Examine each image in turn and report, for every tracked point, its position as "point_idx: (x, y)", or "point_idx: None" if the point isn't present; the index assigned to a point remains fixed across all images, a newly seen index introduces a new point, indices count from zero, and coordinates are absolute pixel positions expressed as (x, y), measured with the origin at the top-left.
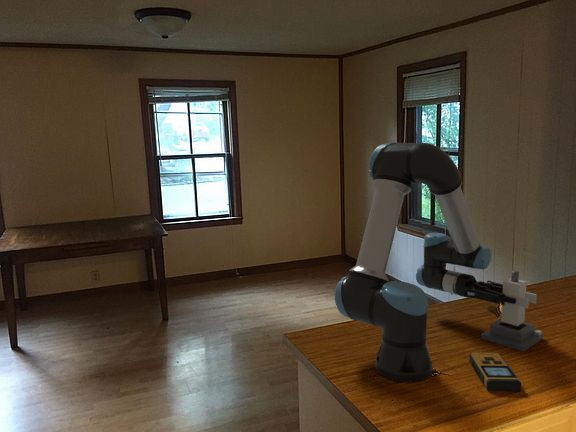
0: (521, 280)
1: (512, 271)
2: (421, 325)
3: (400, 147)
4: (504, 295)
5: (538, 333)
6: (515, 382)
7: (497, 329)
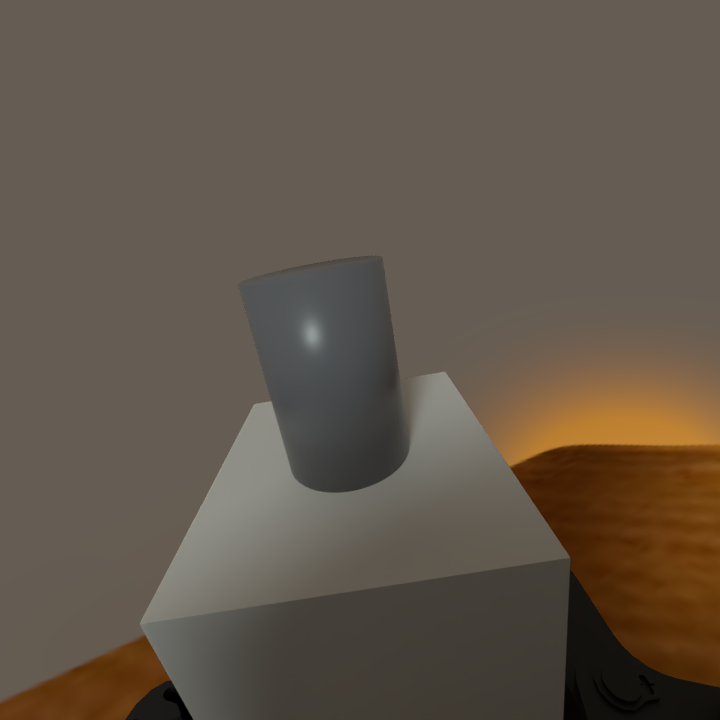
0: (249, 434)
1: (336, 270)
2: None
3: None
4: (599, 651)
5: None
6: None
7: None
